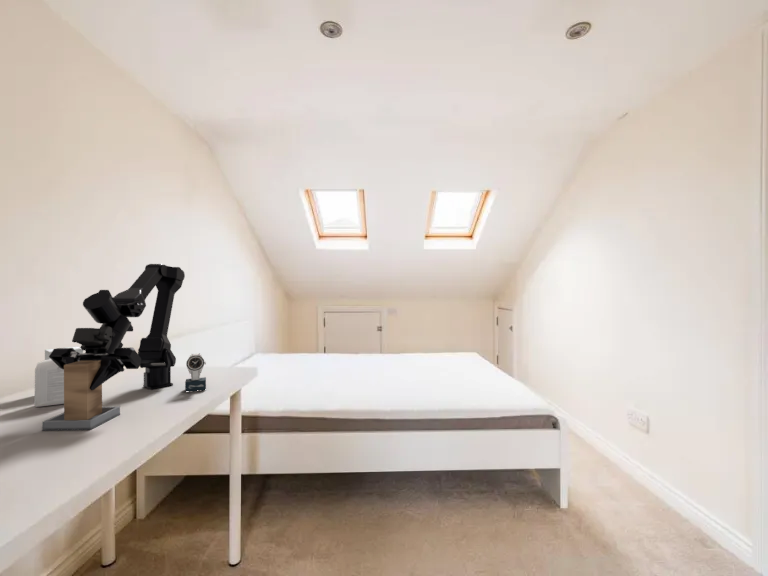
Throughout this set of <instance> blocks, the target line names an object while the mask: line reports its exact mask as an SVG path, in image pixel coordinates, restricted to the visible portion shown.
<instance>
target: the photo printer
mask: <svg viewBox="0 0 768 576" xmlns="http://www.w3.org/2000/svg"><path fill="white" fill-rule="evenodd" d="M33 404H34V405H33V406H34V407H36V408H39V407H47V406H48V407H49V406H55V405H57V406H58V405H64V369H61V368H60V367H59V366H58V365H57V364H56V363H55V362H54V361H53V360H52V359H48V360H45V359H44V360H42V361H41V360H40V361H39V362H37V363H36V367H35V369H34V403H33Z"/></svg>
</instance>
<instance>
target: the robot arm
mask: <svg viewBox="0 0 768 576" xmlns="http://www.w3.org/2000/svg"><path fill="white" fill-rule="evenodd" d="M184 280H185V271H184V270H183V269H182V268H181V267H179V266H170V265H167V264H163V263H149V264H146V265H145V267H144V270H143V271H142V272H141V274H140V275H139V276H138V277H137V279H136V280H135V281H134V282H133V283H132V284H131V285H130V286H129V288H128V289H126V290H124V291H120V292H119V293H117V294H116V295H115V296H112V293H111V291H110V290H109V289H99V290H98V292H96V293H94V294H91V295H89V296H87V297H86V298H84V300H83V302H82V306H83V307H84V309H85V310H86V311H87V313H88V314H89V316H91V318H92V320H93V321H95V322H96V323H97V324H101V325H100V327H97V328H95V327H77V328H75V330H74V334H73V337H72V339H71V341H72V343H76V344H79V345H80V346H79V347H80V348H81V349H82V350H83V351H84V352H83V353H78V352H76V351H75V350H74V349H73V348H67V347H59V348H57V347H56V348H53V349H54V350H53V351H52V353H51V354H50V356H49V358H51V359H52V360H53V361H54V362H55V363H56V364H57V365H58V366H59V367H60V368H61V369H64V365H66V364H70V363H73V362H77V361H99V360H101V366H100V368H99V370H98V372H97V373H96V375H95V377H94V379H93V381H92V383H91V386H90V389H91V390H94V389H96V388H97V387H98V386H100V385H101V384H102V385H103V384H104V383H106V382H107V381H108V380H109V379H111V378H113V377H114V376H115V375H118V374H119V373H121V372H122V373H123V372H125V369H126V370H137V369H139V368H140V369H144V368H145V372H143V384H142V386H143V387H144V388H147V389H149V390H155V389H160V388H164V387H165V388H166V387H170V385H171V386H174V383H172V381H171V378H172V377H171V376H172V375H171V373H172V371H171V370H172V369H171V368H172V367H175V365H176V362H177V359H176V358H177V357H176V356H175V355H174V353H173V351H172V350H171V349H172V344H171V342H170V340H169V337H168V332H169V325H170V321H171V316H172V311H173V305H174V298H175V294H177V292H178V291H179V290H180V289H181V288H182V286H183V283H184ZM155 287H156V290H157V294H156V299H155V305H154V310H153V315H152V319H151V324H150V329H149V333H148V335H147V336H146V337H142V338H141V339H140V340H139V341H140V343H139V348H138V349H137V350H136V349H135V348H134V347H124V343H123V342H122V341H123V339H124V338H125V335H126V334H127V333H128V332H134V326H133V324H132V321H130V319H129V318H139V317H141V315H142V314H143V312H144V310H145V308H146V307H147V304H146V299H147V297H148V296H149V295H150V294H151V292H152V291H153V290H154V288H155ZM124 367H125V368H124Z"/></svg>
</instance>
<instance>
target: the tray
mask: <svg viewBox="0 0 768 576" xmlns="http://www.w3.org/2000/svg"><path fill="white" fill-rule="evenodd" d="M120 415H121V406H102V413H100V414H98V415H96V416H94V417H92V418H90V419H88V420H64V412H63V413H60V414H57V415H55V416H53V417H50V418H48V419H46V420H43V421H42V423H41V425H42V426H41V427H42V429H41V430H42V432H49V431H50V432H52V431H57V432H59V431H92V430H93V429H95V428H98V427H99V426H101V425H103V424H104V423H105V424H106V423H107V422H109V421H110V420H112V419H114V418H116V417H118V416H120Z"/></svg>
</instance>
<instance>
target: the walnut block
mask: <svg viewBox="0 0 768 576" xmlns="http://www.w3.org/2000/svg"><path fill="white" fill-rule="evenodd" d="M100 366H101V360H99V361H77V362H73V363H70V364H66V365H64V404H63V411H64V412H63V413H64V420H88V419H90V418H92V417H94V416H96V415H98V414H100V413H102V407H103V384H101V385H100V386H98V387H97V388H96V389H94V390H91V389H90V386H91V383H92V381H93V379H94V377H95V375H96V373H97V372H98V370H99V368H100Z"/></svg>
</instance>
